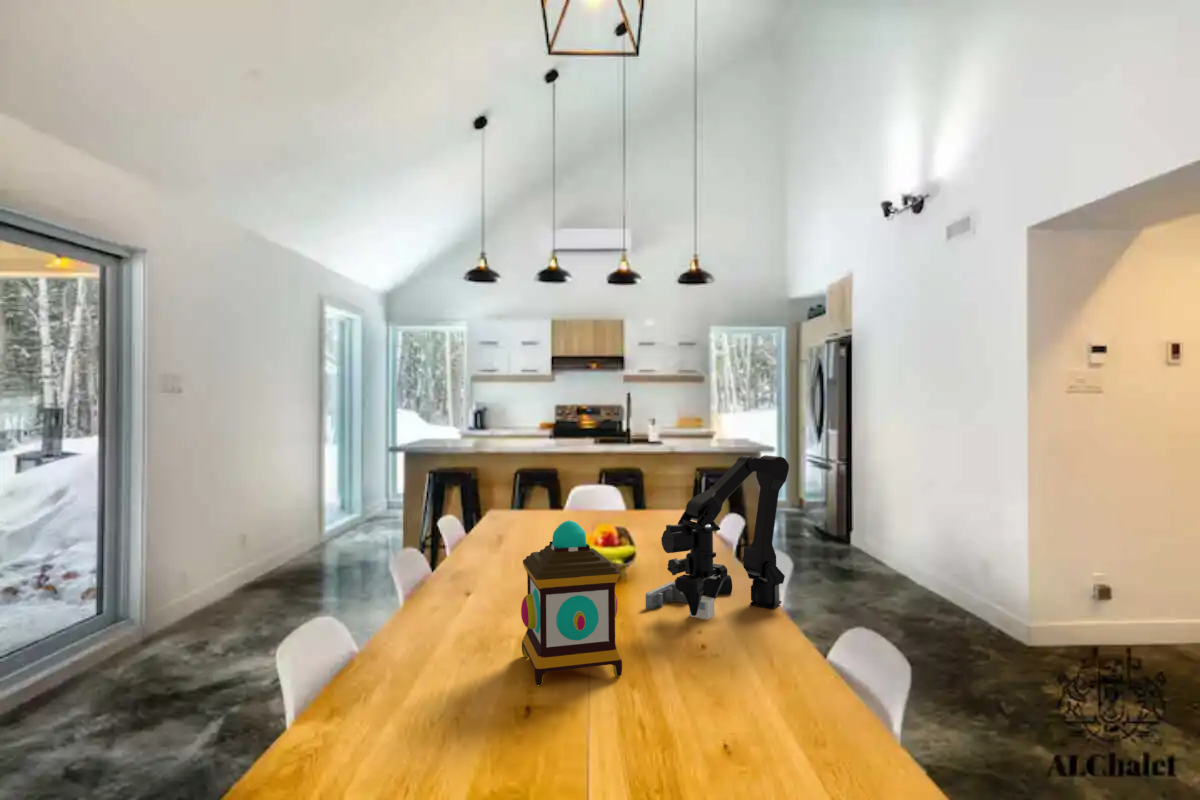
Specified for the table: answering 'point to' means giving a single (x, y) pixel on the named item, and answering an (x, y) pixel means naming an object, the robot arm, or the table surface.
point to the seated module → (679, 595)
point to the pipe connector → (725, 586)
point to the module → (705, 608)
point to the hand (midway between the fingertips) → (702, 610)
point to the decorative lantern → (569, 606)
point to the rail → (660, 596)
